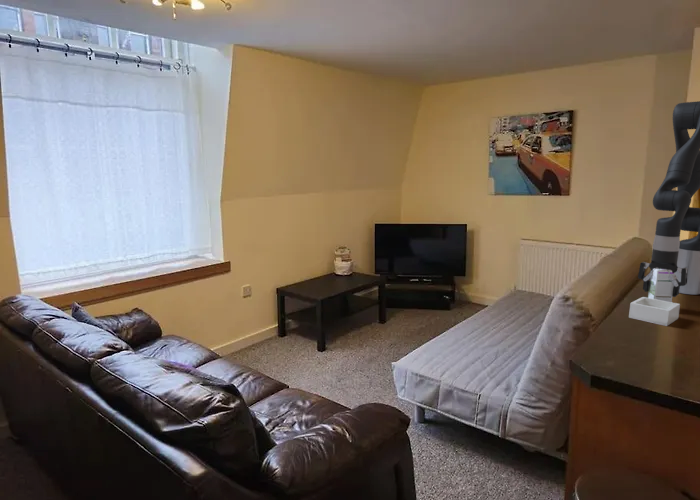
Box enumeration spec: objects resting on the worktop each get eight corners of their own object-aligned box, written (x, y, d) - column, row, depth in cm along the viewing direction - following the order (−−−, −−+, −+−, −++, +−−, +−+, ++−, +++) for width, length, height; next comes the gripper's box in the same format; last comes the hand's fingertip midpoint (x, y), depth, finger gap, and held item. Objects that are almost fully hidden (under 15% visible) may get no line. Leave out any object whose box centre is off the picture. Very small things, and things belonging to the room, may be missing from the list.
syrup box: (671, 311, 162) (676, 270, 159) (652, 310, 163) (657, 269, 160) (664, 306, 167) (669, 266, 164) (645, 305, 168) (650, 266, 166)
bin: (641, 310, 163) (642, 296, 162) (678, 318, 154) (680, 303, 153) (628, 317, 156) (630, 303, 155) (666, 326, 147) (668, 310, 146)
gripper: (693, 250, 158) (687, 296, 161) (646, 244, 169) (641, 288, 172) (686, 252, 153) (680, 300, 156) (638, 246, 164) (633, 291, 167)
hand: (660, 293), depth 164 cm, fingers open, 8 cm apart
